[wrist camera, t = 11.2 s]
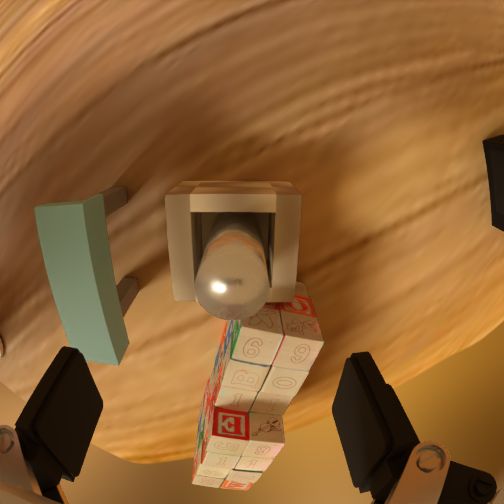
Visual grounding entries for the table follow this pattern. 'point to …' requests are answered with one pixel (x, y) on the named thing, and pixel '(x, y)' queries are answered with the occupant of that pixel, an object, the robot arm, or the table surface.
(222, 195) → the socket
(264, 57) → the table surface
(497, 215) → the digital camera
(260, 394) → the stack of blocks
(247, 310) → the peg
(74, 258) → the teal bridge block
